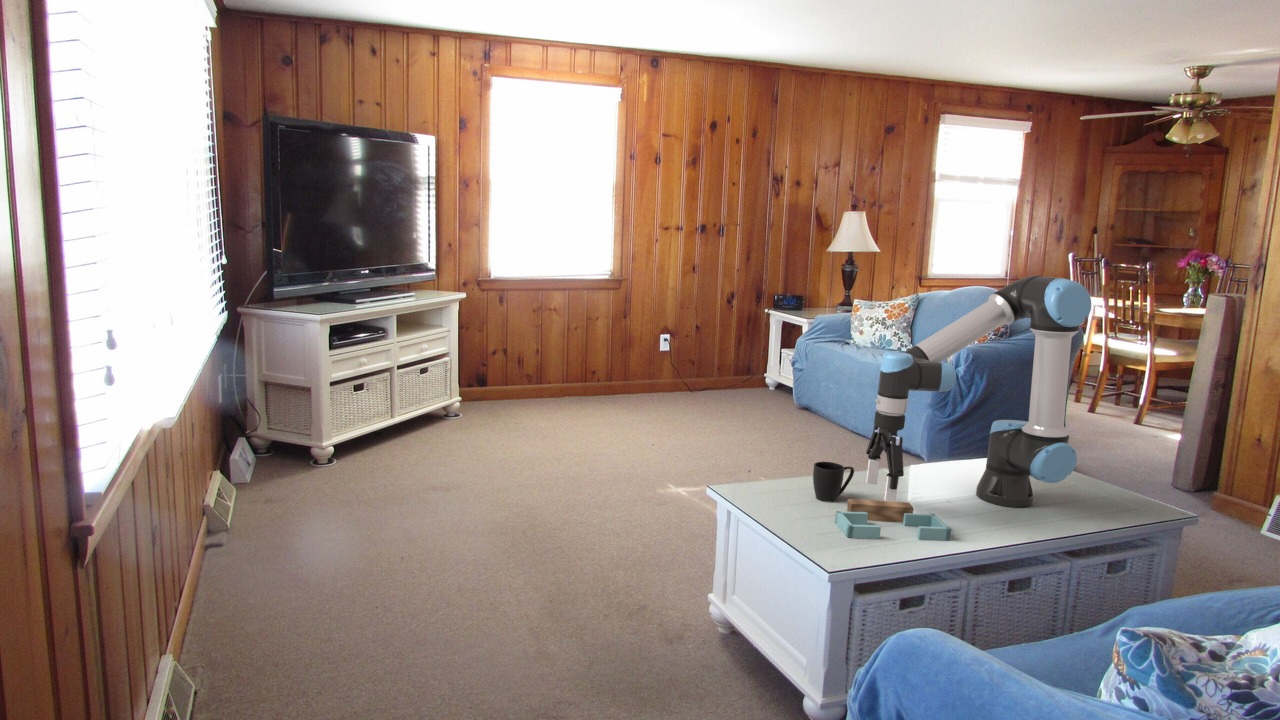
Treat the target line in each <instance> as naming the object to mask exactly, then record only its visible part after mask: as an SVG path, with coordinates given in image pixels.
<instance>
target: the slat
mask: <svg viewBox="0 0 1280 720" xmlns="http://www.w3.org/2000/svg"><path fill="white" fill-rule="evenodd" d="M846 512H867V513H868V519H867V522H868V521H869V522H870V521H871V522H886V523H887V522H888V523H899V524H900V523H901V524H903V519H904V513H914V507H913V506H912V504H911V503H910V502H906V501H905V502H903V501H885V500H875V499H874V500H872V499H861V498H860V499H857V498H848V499H847V508H846Z"/></svg>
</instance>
